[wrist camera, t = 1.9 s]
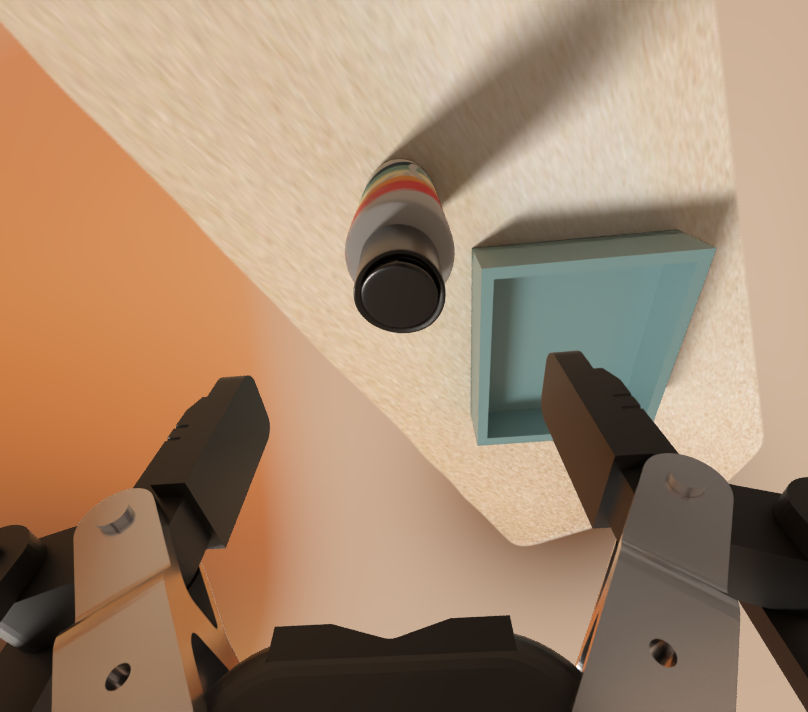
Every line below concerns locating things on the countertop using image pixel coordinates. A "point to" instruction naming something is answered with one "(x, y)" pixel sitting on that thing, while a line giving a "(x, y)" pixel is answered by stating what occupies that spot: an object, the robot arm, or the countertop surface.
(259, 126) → the countertop surface
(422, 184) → the lotion bottle
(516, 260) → the tray
